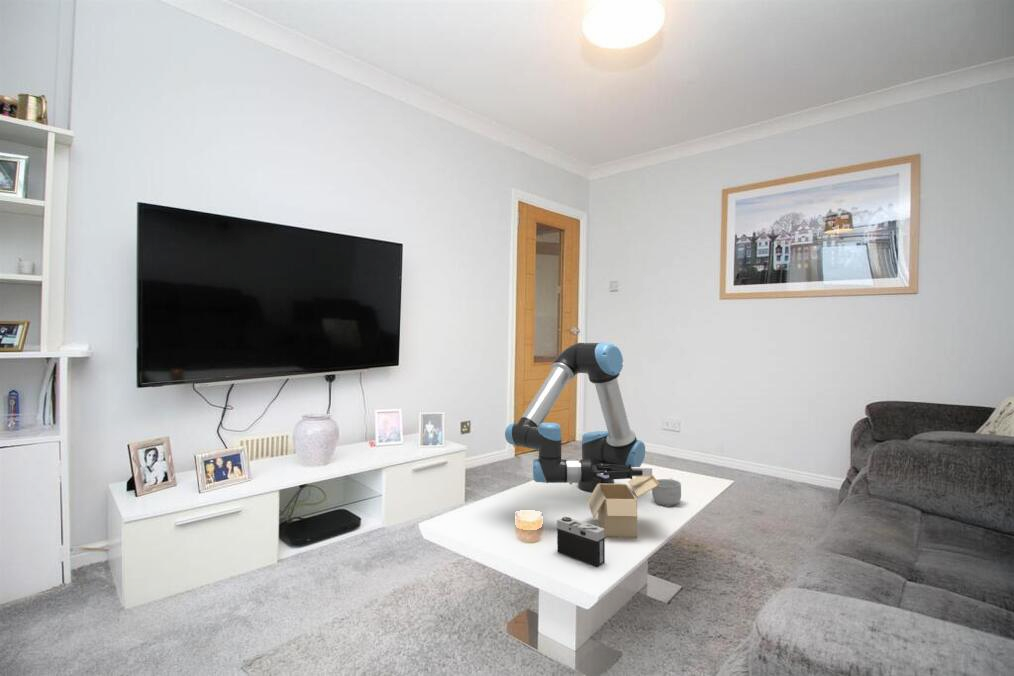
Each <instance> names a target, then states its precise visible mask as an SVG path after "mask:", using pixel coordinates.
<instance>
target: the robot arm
mask: <svg viewBox="0 0 1014 676" xmlns="http://www.w3.org/2000/svg"><path fill="white" fill-rule="evenodd" d="M623 363H624V358H623V354H622V351H621V350H620V348H619V347H618V346H617V345H615V344H613V343H610V342H577V343H574V344H572V345H569V346H568V347H566V349H564V350H563V351H562V352H561V353H560V354H559V355H558V356H557V357H556V358H555V360H554V361H553V363H552V364H551V367H550V368H551V370H550V372H549V373H548V375H547V376H546V378H545V380H544V382H543V383H542V384H541V386H540V388H539V389H538V391H537V392H536V394H535V395H534V397H533V398H532V400H531V401H530V403H529V404H528V406H527V408H526V409H525V411H524V412H523V414H522V415H521V416H520V419H519V420H518V421H517V423H516V422H514V423H510V424H508V425H507V427H506V429H505V431H504V438H505V440H506V442H507V443H509V444H510V445H512V446H514V447H515V446H516V447H520V448H521V447H522V448H527V449H532V450H535V451H538V458H534V460H533V461H532V477H533V478H532V480H533V481H534V482H535V483H542V484H543V483H545V484H557V483H558V484H562V483H563V484H569V485H573V484H577V487H578V488H579V489H580V490H583V491H585V492H591V493H593V491H594V489H595V487H596V486H597V484H616V483H615V480H625V479H627V480H628V479H629V480H632V479H633V477H634V478H635V477H652V475H653V468H652V467H651V466H646V467H645V466H644V467H643V466H642V465H643V462H644V460H645V457H646V456H645V455H646V445H645V443H644V441H642V440H638V439H637V435H636V433H635V431H633V430H631V427H630V423H629V420H628V416H627V412H626V409H625V405H624V401H623V397H622V392H621V390H620V385H619V381H618V378H619V377H620V374H621V372H622V370H623V367H624V365H623ZM578 374H587V376H588V377H587V378H588V379H589V381H590V383H592V384H594V385H595V390H596V393H597V397H598V400H599V401H598V402H599V404H600V408H601V412H602V415H603V419H604V422H605V427H606V430H597V431H595V430H594V431H590V432H585V433H584V434H582V437H581V438H582V439H581V459H580V460H579V459H577V458H576V459H573V458H572V459H567V458H566V459H562V438H563V437H562V427H561V425H560V424H559V423H557V422H544V421H545V419H546V418H547V417H548V414H549V413H550V411H551V410H552V408H553V407H554V405H555V403H556V402H557V400H558V398H559V397H560V395H561V394H562V391H564V389H565V387H566V385H567V384H568V382H569V381H573V379H574V378H575V377H576V375H578Z"/></svg>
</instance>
